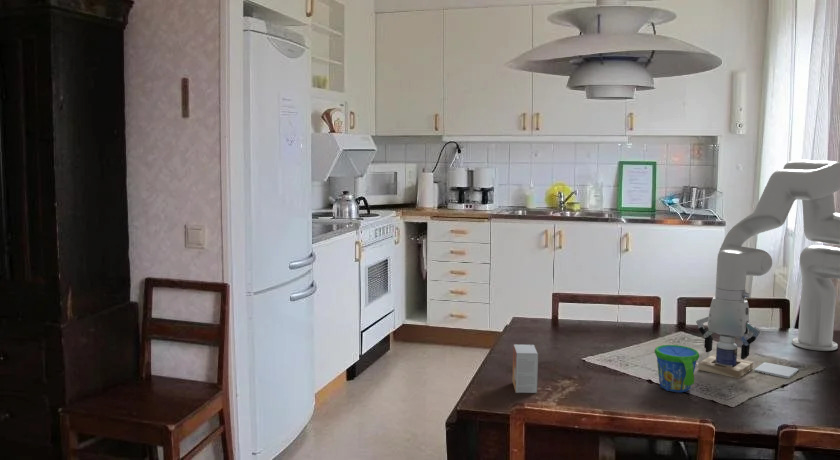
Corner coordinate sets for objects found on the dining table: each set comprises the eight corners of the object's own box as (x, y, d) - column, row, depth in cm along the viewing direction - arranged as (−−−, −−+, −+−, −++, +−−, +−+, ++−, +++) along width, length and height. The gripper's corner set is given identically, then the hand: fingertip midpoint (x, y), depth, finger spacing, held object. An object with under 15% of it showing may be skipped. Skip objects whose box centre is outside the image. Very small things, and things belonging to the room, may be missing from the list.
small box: (512, 382, 194) (512, 343, 193) (533, 382, 194) (534, 344, 192) (515, 393, 186) (515, 352, 185) (537, 393, 186) (538, 353, 184)
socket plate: (713, 360, 213) (713, 353, 213) (752, 369, 206) (753, 361, 206) (698, 369, 205) (698, 362, 205) (739, 378, 198) (739, 370, 198)
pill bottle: (737, 373, 202) (740, 338, 201) (717, 371, 203) (719, 337, 202) (733, 367, 208) (735, 333, 206) (713, 365, 209) (715, 332, 208)
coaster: (764, 364, 210) (764, 362, 210) (798, 370, 204) (798, 368, 204) (754, 371, 204) (754, 369, 204) (788, 378, 198) (789, 376, 198)
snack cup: (706, 399, 182) (709, 359, 181) (664, 399, 182) (666, 359, 181) (684, 378, 198) (686, 342, 196) (645, 378, 198) (647, 341, 196)
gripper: (767, 297, 200) (762, 358, 202) (703, 288, 211) (700, 346, 213) (758, 301, 194) (753, 364, 196) (693, 292, 206) (690, 351, 208)
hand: (726, 354), depth 205 cm, fingers open, 9 cm apart
